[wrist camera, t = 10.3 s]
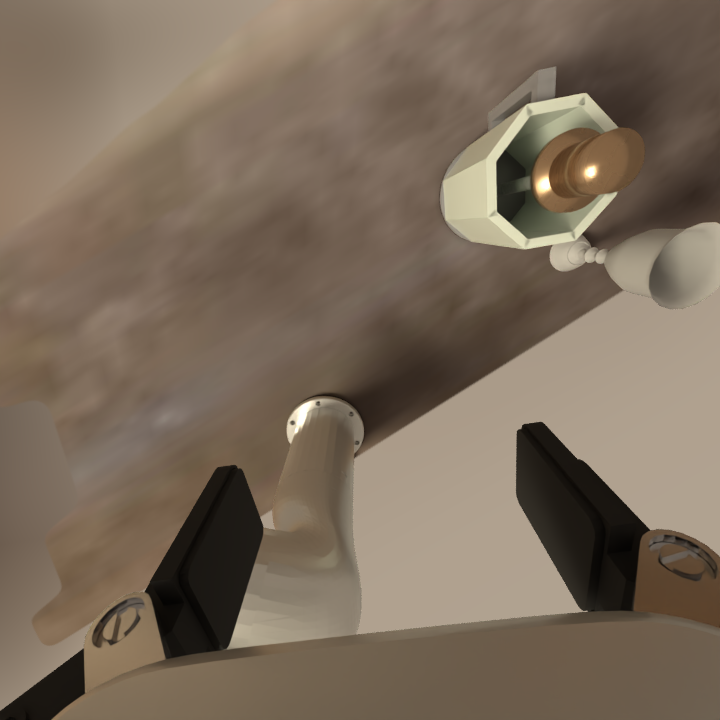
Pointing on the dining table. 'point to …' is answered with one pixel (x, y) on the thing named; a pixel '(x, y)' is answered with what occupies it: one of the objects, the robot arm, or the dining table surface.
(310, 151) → the dining table surface
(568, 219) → the press carafe
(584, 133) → the plunger
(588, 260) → the chalice
